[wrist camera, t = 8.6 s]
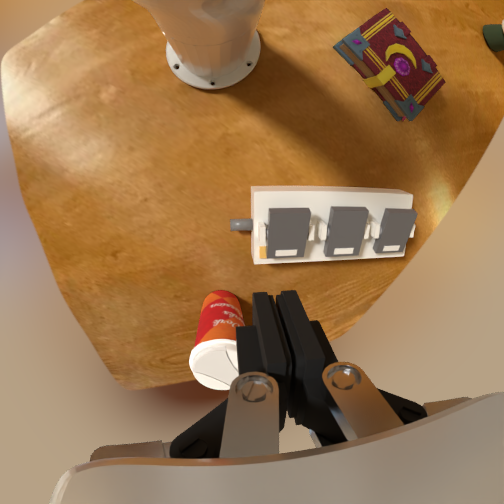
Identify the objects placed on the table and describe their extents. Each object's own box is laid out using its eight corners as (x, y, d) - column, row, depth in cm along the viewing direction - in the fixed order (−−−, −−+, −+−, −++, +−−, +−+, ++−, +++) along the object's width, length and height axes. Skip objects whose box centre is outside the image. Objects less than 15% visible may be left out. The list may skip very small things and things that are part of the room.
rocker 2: (383, 206, 37) (388, 213, 35) (413, 207, 37) (418, 214, 36) (371, 246, 41) (375, 254, 40) (399, 245, 42) (403, 252, 40)
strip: (229, 186, 40) (230, 195, 34) (399, 189, 42) (421, 198, 37) (231, 253, 44) (232, 272, 38) (391, 247, 46) (410, 261, 40)
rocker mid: (329, 205, 36) (333, 210, 35) (365, 205, 37) (370, 211, 35) (321, 250, 40) (325, 257, 39) (355, 249, 41) (359, 255, 39)
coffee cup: (256, 307, 48) (270, 372, 34) (219, 333, 49) (220, 400, 36) (222, 273, 45) (223, 334, 31) (184, 303, 46) (173, 368, 33)
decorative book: (374, 14, 31) (389, 4, 26) (434, 89, 36) (453, 87, 32) (331, 48, 33) (344, 39, 29) (399, 127, 39) (417, 127, 34)
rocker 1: (267, 206, 35) (269, 214, 34) (309, 206, 36) (312, 213, 34) (264, 251, 40) (266, 259, 39) (302, 249, 40) (304, 257, 39)
